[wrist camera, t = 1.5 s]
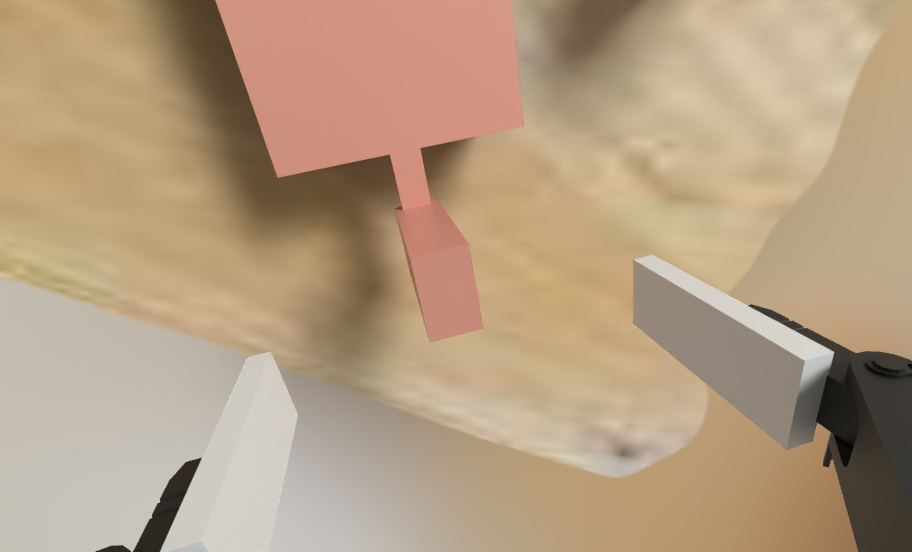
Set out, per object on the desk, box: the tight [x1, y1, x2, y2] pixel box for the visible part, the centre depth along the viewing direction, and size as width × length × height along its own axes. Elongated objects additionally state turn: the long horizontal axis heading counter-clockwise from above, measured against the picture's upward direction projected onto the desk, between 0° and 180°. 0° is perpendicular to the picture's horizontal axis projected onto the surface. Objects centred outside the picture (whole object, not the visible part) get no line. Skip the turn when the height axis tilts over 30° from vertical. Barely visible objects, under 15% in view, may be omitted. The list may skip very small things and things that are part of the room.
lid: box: [215, 0, 524, 342], centre depth 16 cm, size 26×13×8 cm, turn 10°
